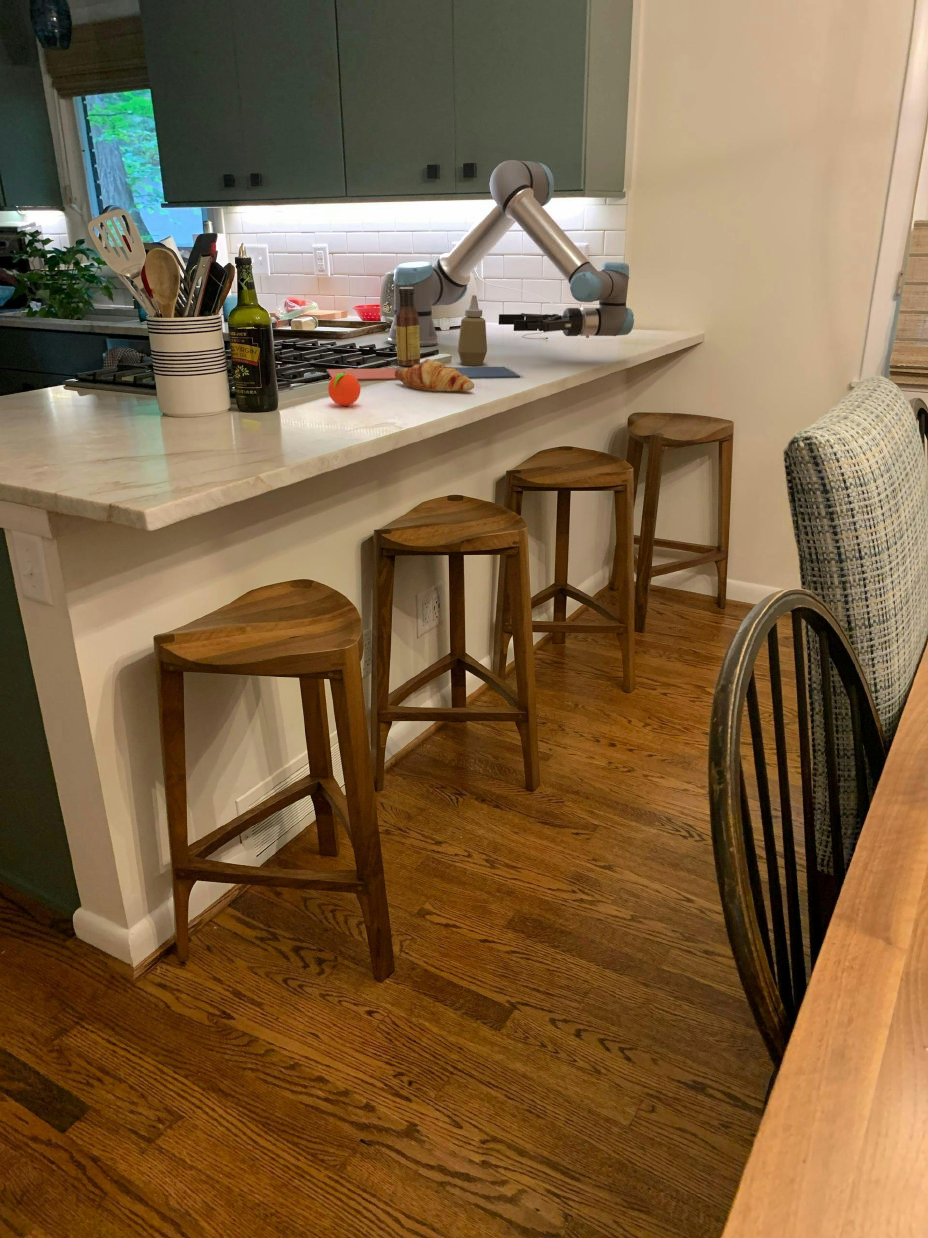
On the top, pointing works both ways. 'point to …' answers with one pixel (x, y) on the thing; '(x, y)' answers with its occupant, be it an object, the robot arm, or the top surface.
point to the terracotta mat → (366, 373)
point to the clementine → (344, 389)
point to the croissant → (434, 377)
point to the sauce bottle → (407, 329)
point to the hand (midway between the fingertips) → (506, 322)
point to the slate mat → (487, 372)
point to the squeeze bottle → (472, 336)
